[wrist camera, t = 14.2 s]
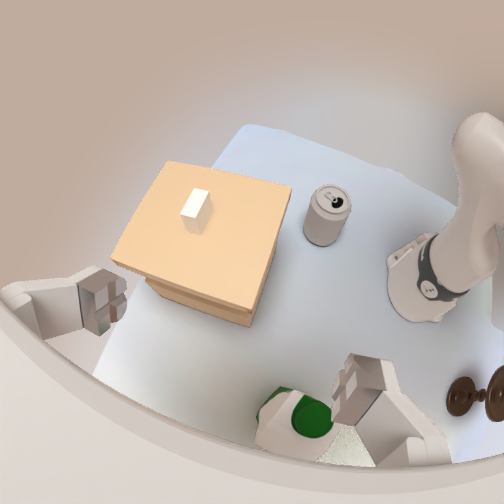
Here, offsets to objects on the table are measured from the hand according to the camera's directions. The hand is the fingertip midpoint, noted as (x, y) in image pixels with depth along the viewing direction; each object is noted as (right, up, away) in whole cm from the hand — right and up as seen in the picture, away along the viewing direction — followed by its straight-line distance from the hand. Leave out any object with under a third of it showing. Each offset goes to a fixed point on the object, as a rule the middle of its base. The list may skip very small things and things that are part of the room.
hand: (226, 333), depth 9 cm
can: (+15, +7, +47) cm, 50 cm away
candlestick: (+46, -29, +29) cm, 61 cm away
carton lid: (-6, +6, +28) cm, 29 cm away
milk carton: (+6, -25, +32) cm, 41 cm away
